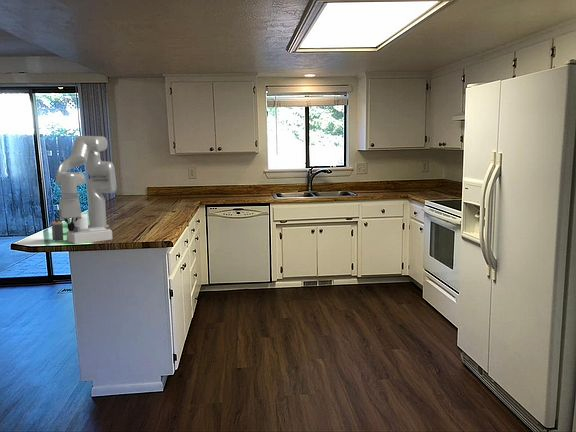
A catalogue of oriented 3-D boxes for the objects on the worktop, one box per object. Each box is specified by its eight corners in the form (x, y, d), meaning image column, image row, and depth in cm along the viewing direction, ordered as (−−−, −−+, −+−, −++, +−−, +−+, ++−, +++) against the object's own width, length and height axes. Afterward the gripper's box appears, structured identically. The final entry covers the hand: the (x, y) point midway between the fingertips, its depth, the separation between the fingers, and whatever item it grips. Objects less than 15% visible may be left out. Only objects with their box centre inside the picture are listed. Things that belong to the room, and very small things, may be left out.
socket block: (67, 240, 247) (66, 230, 246) (103, 236, 261) (103, 226, 260) (74, 244, 238) (74, 233, 238) (112, 239, 252) (112, 229, 251)
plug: (52, 239, 249) (51, 218, 247) (60, 239, 251) (59, 217, 250) (55, 241, 245) (54, 219, 244) (63, 240, 248) (62, 218, 246)
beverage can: (85, 232, 273) (84, 212, 271) (90, 234, 267) (89, 214, 265) (71, 233, 268) (70, 213, 266) (75, 235, 262) (74, 215, 260)
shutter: (72, 231, 246) (72, 225, 246) (86, 230, 251) (85, 224, 251) (77, 233, 241) (77, 227, 241) (91, 231, 246) (90, 226, 245)
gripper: (81, 195, 247) (83, 228, 250) (51, 196, 237) (54, 231, 240) (86, 196, 242) (88, 230, 245) (56, 197, 232) (58, 233, 234)
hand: (71, 230), depth 242 cm, fingers closed
